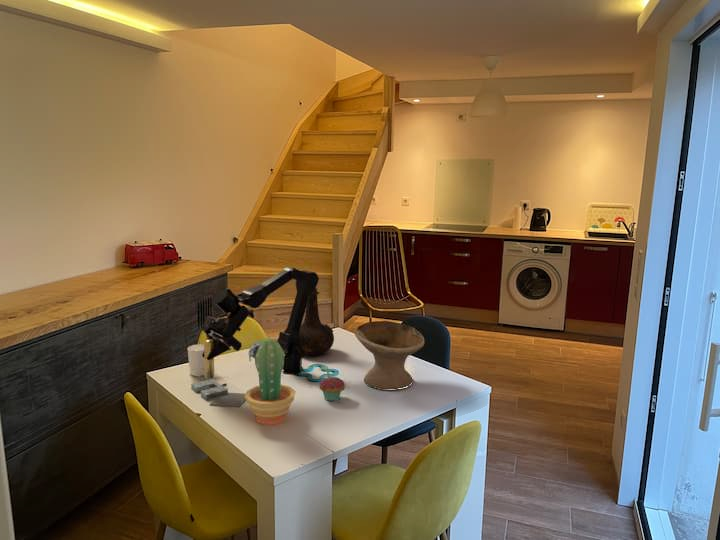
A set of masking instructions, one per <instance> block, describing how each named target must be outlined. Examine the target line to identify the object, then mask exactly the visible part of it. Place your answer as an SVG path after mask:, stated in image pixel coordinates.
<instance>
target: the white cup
mask: <svg viewBox="0 0 720 540" xmlns="http://www.w3.org/2000/svg"><path fill="white" fill-rule="evenodd" d="M203 352H204V343H203V344H192V345H190V346H188V347H187V357H188V365H189V374H190V375H191V376H195V377H203V376H205V358H204V357H202V354H203ZM202 375H203V376H202Z"/></svg>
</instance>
